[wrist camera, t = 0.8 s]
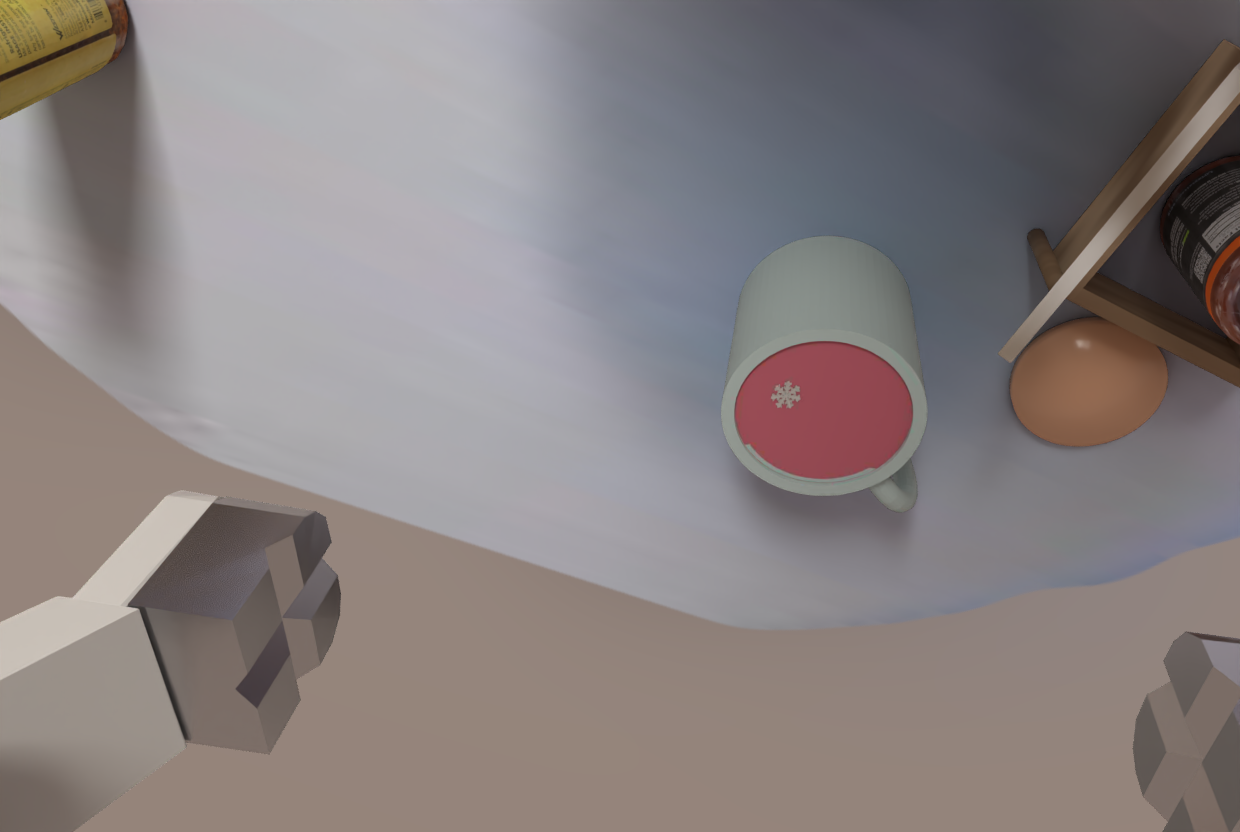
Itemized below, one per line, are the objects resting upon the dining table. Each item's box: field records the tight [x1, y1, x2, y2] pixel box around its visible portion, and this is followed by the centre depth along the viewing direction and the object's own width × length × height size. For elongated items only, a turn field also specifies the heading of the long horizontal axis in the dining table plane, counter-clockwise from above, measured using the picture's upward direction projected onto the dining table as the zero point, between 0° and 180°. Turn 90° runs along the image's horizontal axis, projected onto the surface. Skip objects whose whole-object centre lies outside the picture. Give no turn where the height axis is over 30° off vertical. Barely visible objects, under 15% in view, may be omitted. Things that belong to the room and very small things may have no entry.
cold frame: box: [998, 39, 1240, 388], centre depth 40 cm, size 12×16×14 cm
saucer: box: [1009, 317, 1168, 446], centre depth 52 cm, size 8×8×1 cm
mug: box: [721, 236, 927, 513], centre depth 49 cm, size 14×9×10 cm
